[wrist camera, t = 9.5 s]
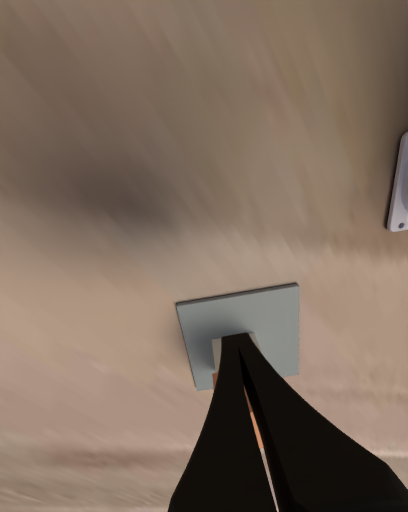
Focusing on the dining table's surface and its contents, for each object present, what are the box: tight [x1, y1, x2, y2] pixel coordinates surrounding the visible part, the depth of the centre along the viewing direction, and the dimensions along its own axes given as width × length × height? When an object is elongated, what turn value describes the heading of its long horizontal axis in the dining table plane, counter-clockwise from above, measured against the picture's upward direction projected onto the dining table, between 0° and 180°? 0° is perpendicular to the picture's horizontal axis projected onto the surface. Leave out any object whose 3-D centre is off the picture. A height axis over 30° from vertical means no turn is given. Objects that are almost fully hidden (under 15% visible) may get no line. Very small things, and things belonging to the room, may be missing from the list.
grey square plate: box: [176, 284, 299, 391], centre depth 24 cm, size 12×12×1 cm
